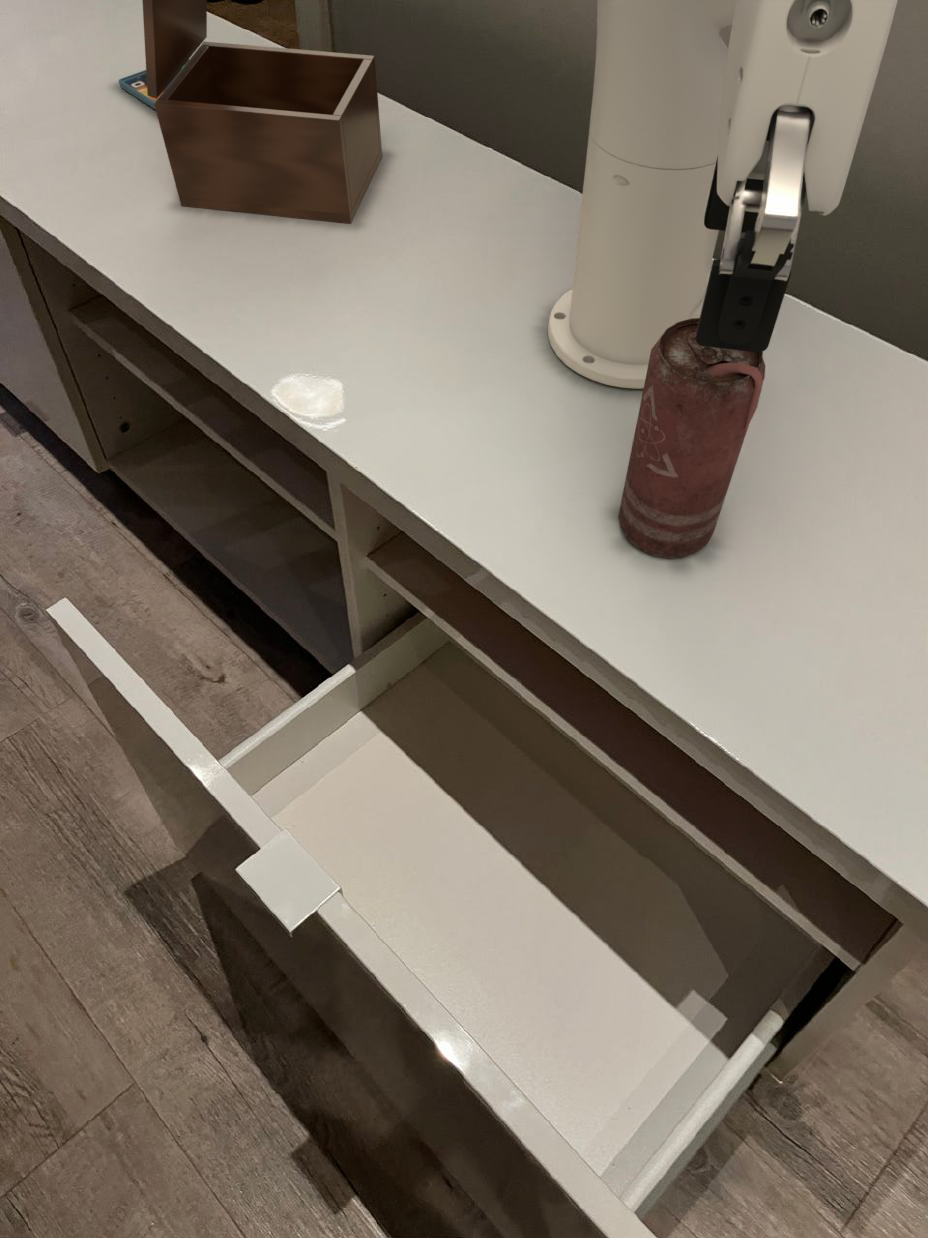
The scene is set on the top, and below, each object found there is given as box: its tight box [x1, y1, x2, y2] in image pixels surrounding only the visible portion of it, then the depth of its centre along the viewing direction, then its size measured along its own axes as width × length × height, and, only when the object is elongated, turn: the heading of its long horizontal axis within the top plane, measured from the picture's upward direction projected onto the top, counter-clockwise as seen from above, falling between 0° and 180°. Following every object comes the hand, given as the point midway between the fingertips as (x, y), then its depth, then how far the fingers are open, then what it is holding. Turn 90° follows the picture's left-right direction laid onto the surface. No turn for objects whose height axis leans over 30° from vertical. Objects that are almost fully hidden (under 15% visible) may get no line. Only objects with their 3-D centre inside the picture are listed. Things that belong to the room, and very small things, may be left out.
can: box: [617, 318, 766, 559], centre depth 54 cm, size 6×6×14 cm
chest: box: [154, 41, 383, 224], centre depth 81 cm, size 16×12×9 cm
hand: (732, 283), depth 45 cm, fingers open, 9 cm apart
